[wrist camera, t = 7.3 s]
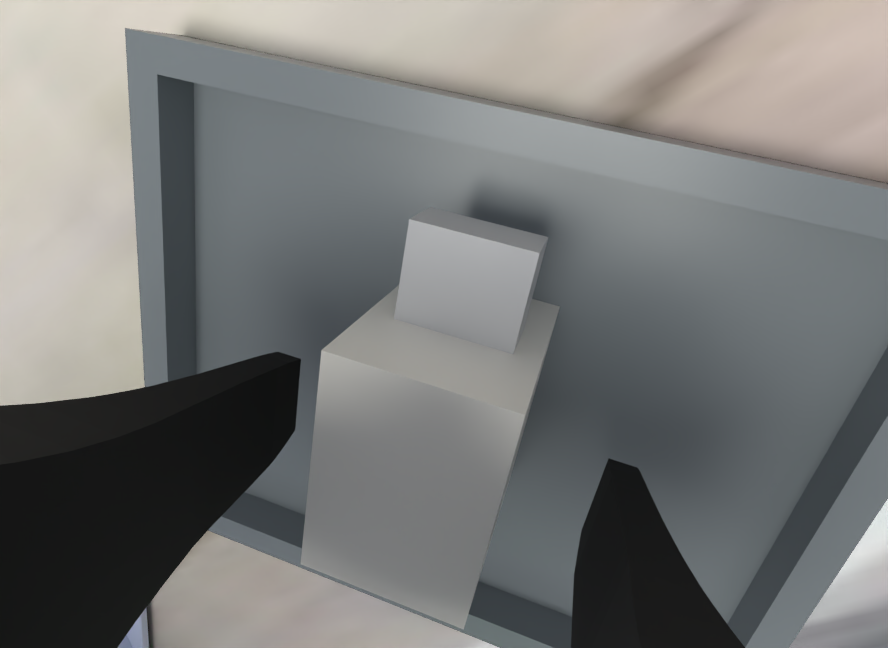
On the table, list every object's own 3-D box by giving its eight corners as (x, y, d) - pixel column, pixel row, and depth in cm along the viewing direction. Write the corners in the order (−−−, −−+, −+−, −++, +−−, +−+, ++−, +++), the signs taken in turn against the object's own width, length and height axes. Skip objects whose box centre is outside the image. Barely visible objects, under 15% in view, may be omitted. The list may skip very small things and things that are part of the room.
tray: (718, 676, 17) (727, 738, 15) (189, 474, 20) (151, 507, 18) (1001, 207, 11) (1067, 227, 9) (182, 35, 14) (125, 28, 12)
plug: (492, 538, 16) (441, 705, 12) (380, 497, 17) (293, 641, 13) (583, 223, 12) (558, 297, 8) (433, 186, 13) (333, 235, 9)
